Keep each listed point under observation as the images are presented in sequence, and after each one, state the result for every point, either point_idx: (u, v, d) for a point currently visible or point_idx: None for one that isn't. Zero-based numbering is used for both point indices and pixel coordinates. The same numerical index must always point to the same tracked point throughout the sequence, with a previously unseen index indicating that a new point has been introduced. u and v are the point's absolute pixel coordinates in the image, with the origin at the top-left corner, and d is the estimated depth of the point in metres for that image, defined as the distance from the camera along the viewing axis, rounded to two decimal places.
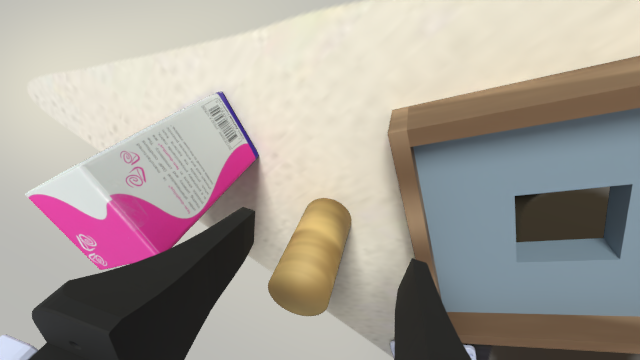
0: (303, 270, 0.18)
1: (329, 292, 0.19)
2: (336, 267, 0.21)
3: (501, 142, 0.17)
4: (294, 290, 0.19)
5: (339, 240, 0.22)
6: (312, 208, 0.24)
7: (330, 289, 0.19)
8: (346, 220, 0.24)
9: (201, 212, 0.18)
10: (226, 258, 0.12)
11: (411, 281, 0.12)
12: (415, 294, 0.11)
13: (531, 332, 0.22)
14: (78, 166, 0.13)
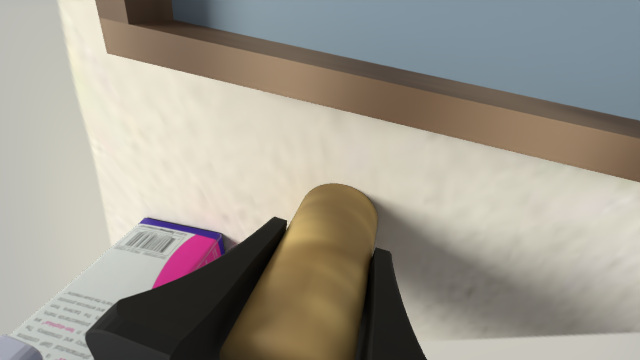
0: (232, 330, 0.09)
1: (301, 332, 0.08)
2: (318, 274, 0.10)
3: None
4: None
5: (316, 229, 0.12)
6: None
7: (304, 324, 0.08)
8: (335, 195, 0.14)
9: None
10: (262, 269, 0.12)
11: (372, 269, 0.12)
12: (373, 281, 0.11)
13: None
14: None
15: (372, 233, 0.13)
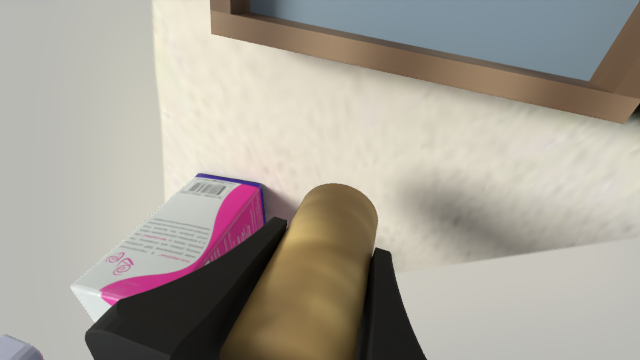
0: (232, 329, 0.09)
1: (301, 331, 0.08)
2: (318, 273, 0.10)
3: None
4: None
5: (316, 229, 0.12)
6: None
7: (304, 323, 0.08)
8: (335, 195, 0.14)
9: (204, 254, 0.17)
10: (261, 269, 0.12)
11: (372, 269, 0.12)
12: (373, 281, 0.11)
13: None
14: (71, 287, 0.15)
15: (372, 233, 0.13)
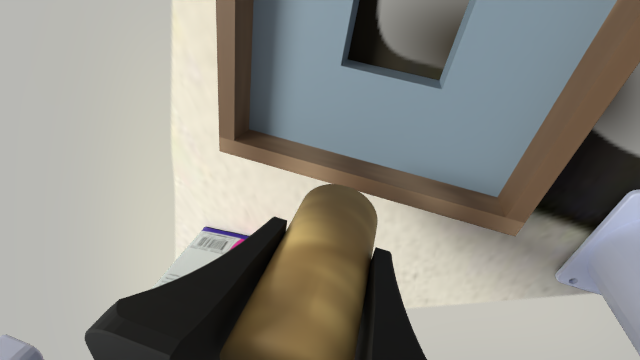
0: (233, 332, 0.09)
1: (301, 334, 0.08)
2: (317, 276, 0.10)
3: (276, 61, 0.17)
4: None
5: (316, 231, 0.12)
6: None
7: (304, 326, 0.08)
8: (335, 196, 0.14)
9: None
10: (261, 269, 0.12)
11: (372, 269, 0.12)
12: (373, 281, 0.11)
13: (565, 116, 0.14)
14: None
15: (372, 234, 0.13)
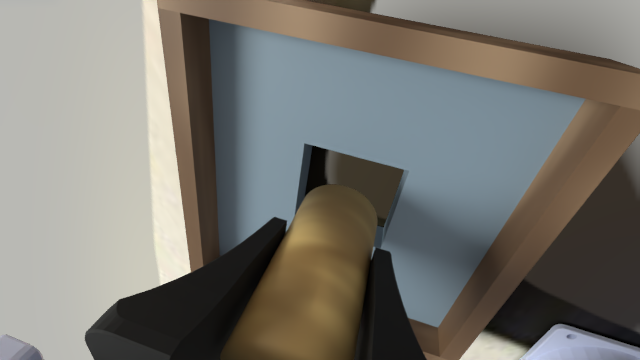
0: (233, 333, 0.09)
1: (301, 337, 0.08)
2: (317, 278, 0.10)
3: (239, 212, 0.20)
4: None
5: (316, 232, 0.12)
6: None
7: (304, 329, 0.09)
8: (335, 197, 0.14)
9: None
10: (262, 269, 0.12)
11: (372, 269, 0.12)
12: (373, 280, 0.11)
13: (479, 293, 0.16)
14: None
15: (372, 234, 0.14)
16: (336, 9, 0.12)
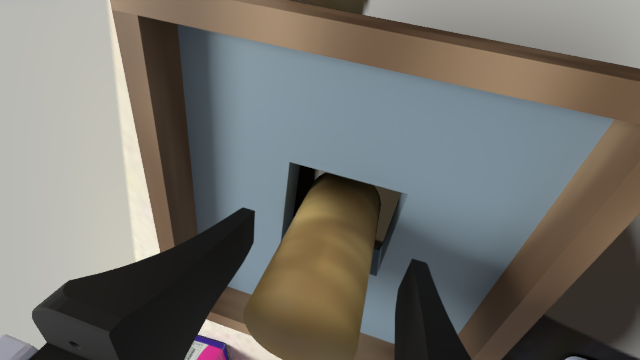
0: (255, 290, 0.10)
1: (317, 289, 0.09)
2: (330, 244, 0.11)
3: None
4: (286, 331, 0.10)
5: (326, 208, 0.13)
6: None
7: (320, 283, 0.10)
8: (342, 180, 0.15)
9: None
10: (226, 258, 0.12)
11: (411, 281, 0.12)
12: (415, 294, 0.11)
13: (486, 331, 0.14)
14: None
15: (376, 214, 0.15)
16: (322, 11, 0.11)
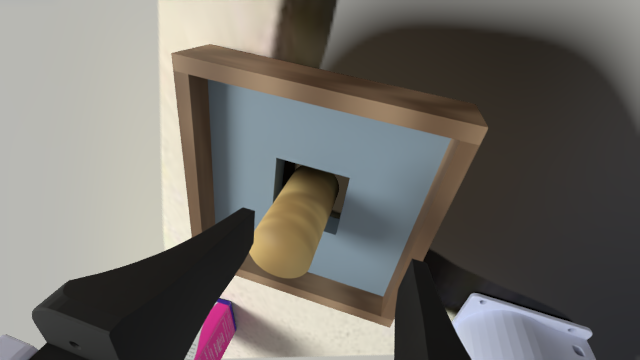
0: None
1: (288, 227, 0.17)
2: (298, 206, 0.19)
3: (230, 208, 0.26)
4: (272, 253, 0.18)
5: (298, 186, 0.21)
6: None
7: (290, 224, 0.18)
8: (311, 170, 0.23)
9: None
10: (226, 258, 0.12)
11: (411, 281, 0.12)
12: (415, 294, 0.11)
13: (402, 266, 0.22)
14: None
15: (333, 192, 0.23)
16: (292, 70, 0.19)
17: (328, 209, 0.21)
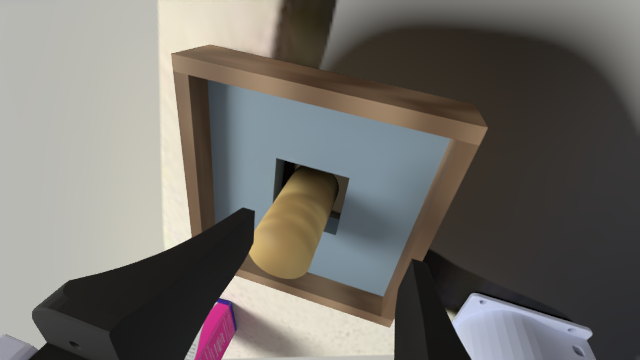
0: (254, 231, 0.18)
1: (287, 227, 0.17)
2: (297, 206, 0.19)
3: (230, 208, 0.26)
4: (271, 254, 0.18)
5: (298, 187, 0.21)
6: None
7: (289, 225, 0.18)
8: (310, 170, 0.23)
9: None
10: (226, 258, 0.12)
11: (411, 281, 0.12)
12: (415, 294, 0.11)
13: (401, 266, 0.22)
14: None
15: (332, 192, 0.23)
16: (292, 71, 0.19)
17: (328, 209, 0.21)
